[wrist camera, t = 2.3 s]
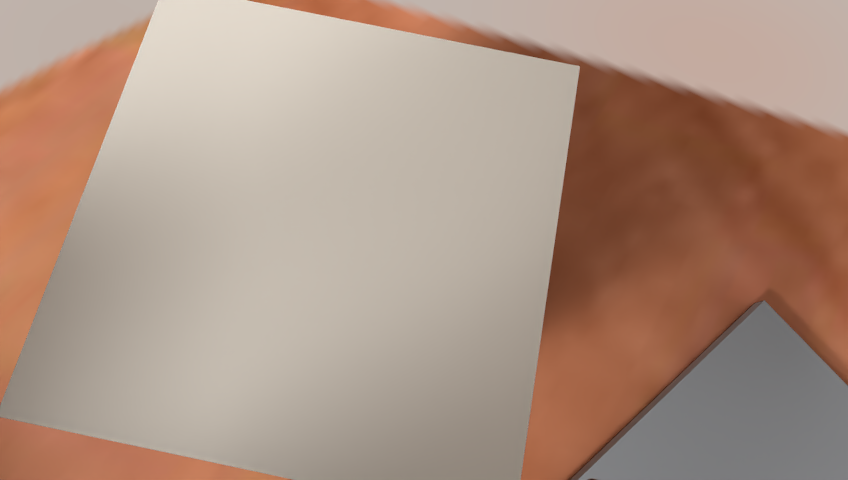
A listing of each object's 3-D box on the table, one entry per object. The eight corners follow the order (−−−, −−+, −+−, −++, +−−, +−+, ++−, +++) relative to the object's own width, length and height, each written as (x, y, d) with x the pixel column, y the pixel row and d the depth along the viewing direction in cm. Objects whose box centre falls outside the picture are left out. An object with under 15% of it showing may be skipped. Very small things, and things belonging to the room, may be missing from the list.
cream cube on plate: (460, 469, 14) (513, 526, 8) (184, 411, 14) (-4, 415, 8) (506, 207, 16) (580, 65, 10) (261, 157, 16) (165, -16, 10)
